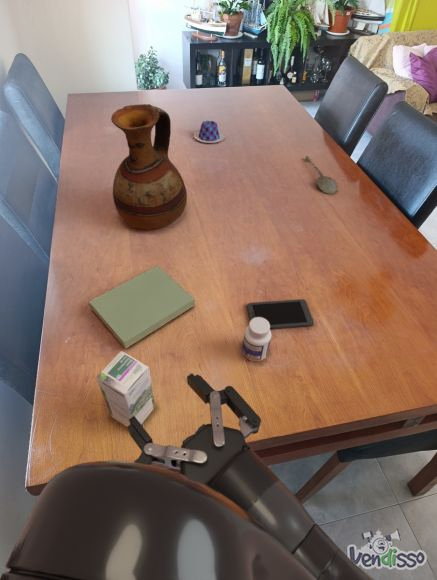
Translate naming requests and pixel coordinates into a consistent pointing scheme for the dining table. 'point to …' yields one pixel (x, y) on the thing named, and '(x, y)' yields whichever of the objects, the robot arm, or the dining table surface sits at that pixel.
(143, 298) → the green flat block
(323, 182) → the soupspoon
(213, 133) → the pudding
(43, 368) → the dining table surface
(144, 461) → the robot arm
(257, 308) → the cell phone
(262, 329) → the pill bottle
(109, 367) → the syrup box
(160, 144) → the ceramic pitcher
